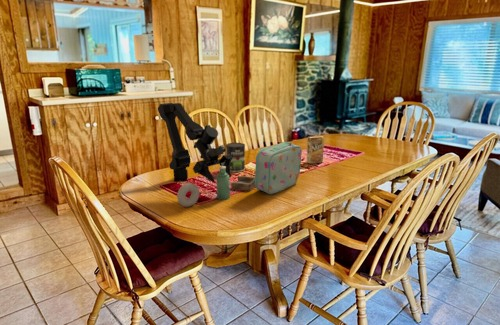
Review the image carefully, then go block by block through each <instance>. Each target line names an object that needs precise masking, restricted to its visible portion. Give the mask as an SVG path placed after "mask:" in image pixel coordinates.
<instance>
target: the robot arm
mask: <svg viewBox="0 0 500 325" xmlns="http://www.w3.org/2000/svg"><path fill="white" fill-rule="evenodd" d="M157 112H158V114H159V116H160V119H161V120H163V121H164V123H165V125H166V128H167V132H168V135H169V139H170V144H171V146H172V154H171V159H172V160H171V161H170V163H169V165H168V166H169V169H170V170H173V182H186V181H188V179H189V173H188V168H190V165H191V155H190V151H189V150H188V149H186V148H184V146H183V143H182V138H181V135H180V130H179V128H178V125H177V124H178V123H177V120H178V121H179V122H180V124H181V125H182V126H183V128H184V129H185V134H186V136H187V138H188V140H190V141H195V142H193V144H194V145H193V149H197V151H198V152H199V153H200V156H199V157H200V159H203V160H198V161H196V162H195V164H194V166H193V167H192V171H193V172H194V174H198V175H201V176H202V177H204V178H206V179H207V180H209V181H210V182H212V183H215V178H214V177H213V175H212V173H211V171H210V169H209V168H210V167H212V166H216V165H219V167H220V166H226V173H227V174H228V175H229V179H230V178H231V177H232V174H231V172H230V168H229V164H230V162H231V160H232V159H233V158H232V156H231V155H230V154H228V155H226V154H225V152H226V146H225V145H224V144H221V145H218V146H217V147H216V148H214V147H212V146H211V145H212V144H213V143H214V142H215V140H216V139H217V137H218V136H219V132H218V130H217V129H216V128H214V127H213V126H211V125H210V124H208V125H207V124H206V125H205V126H204V128H203V126H202V125H201V124H199V123H197V122H195V121H194V120H193V118H191V116H190V115H189V114H188V112H187V111H186V109H184V107H183V104H182V103H180V102H176V103H174V102H167V103H160V104H159V106H157ZM176 118H177V120H176ZM224 154H225V155H224ZM221 155H222V156H221ZM220 157H221V158H220Z"/></svg>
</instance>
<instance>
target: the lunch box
mask: <svg viewBox="0 0 500 325" xmlns="http://www.w3.org/2000/svg"><path fill="white" fill-rule="evenodd" d="M301 164H302V147H301V146H300V145H298V144H297V145H296V144H294V143H292V142H290V141H284V142H283V141H282V142H281V143H278V144H274V145H271V146H267V147H266V146H265V147H263V148H261V149H259V151H258V152H257V153H256V156H255V171H254V177H255V186H254V187H255V188H256V190H258V191H262V192H265V193H267V194H268V195H274V194H276V193H278V192H281V191H283V190H287V189H288V188H290V187H292V186H294V185H295V184H296V183H297V181H298V179H299V178H300V177H299V176H300V172H301Z"/></svg>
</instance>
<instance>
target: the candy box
mask: <svg viewBox="0 0 500 325" xmlns="http://www.w3.org/2000/svg"><path fill="white" fill-rule="evenodd" d="M324 147H325V137H324V136H323V135H315V136H307V148H306V162H307V163H309V164H316V163H323V162H324Z"/></svg>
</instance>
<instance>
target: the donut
mask: <svg viewBox="0 0 500 325" xmlns="http://www.w3.org/2000/svg"><path fill="white" fill-rule="evenodd" d="M188 192H190V193H191V194H190V196H189V197H188V198H187V196H186V195H187V194H188ZM199 197H200V189H199V187H198V186H197V185H196V184H195V183H191V182H187V183H184V184H182V186H180V188H179V189H178V191H177V197H176V198H177V201H178V203H179V204H180V205H181V206H182V207H186V208H187V207H191V206H193V205H195V204H196V203H197V202H198V200H199Z"/></svg>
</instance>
